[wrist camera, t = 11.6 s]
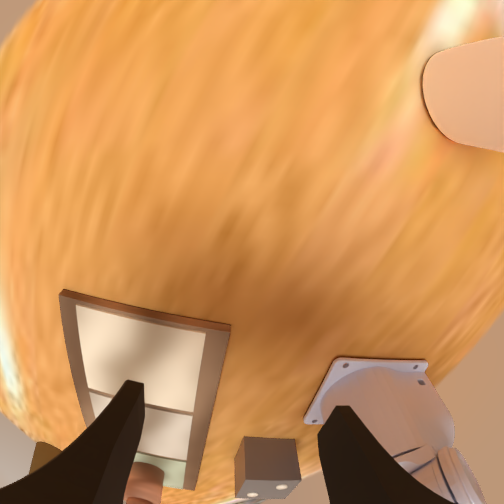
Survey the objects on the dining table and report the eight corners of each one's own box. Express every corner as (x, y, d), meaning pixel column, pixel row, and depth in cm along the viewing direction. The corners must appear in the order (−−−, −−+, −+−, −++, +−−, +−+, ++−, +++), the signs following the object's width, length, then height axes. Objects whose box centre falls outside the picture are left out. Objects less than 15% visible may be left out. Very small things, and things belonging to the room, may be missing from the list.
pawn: (159, 464, 25) (151, 513, 19) (168, 479, 27) (162, 524, 21) (123, 459, 25) (112, 506, 19) (135, 475, 27) (126, 518, 21)
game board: (230, 325, 20) (230, 334, 19) (195, 485, 29) (194, 491, 28) (63, 289, 18) (57, 296, 17) (103, 465, 28) (101, 471, 27)
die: (294, 438, 26) (301, 481, 21) (280, 461, 27) (284, 499, 23) (243, 435, 25) (245, 481, 20) (234, 458, 27) (235, 499, 22)
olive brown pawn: (75, 470, 29) (58, 527, 19) (39, 453, 28) (18, 508, 18) (72, 454, 27) (51, 519, 17) (33, 436, 26) (7, 496, 16)
